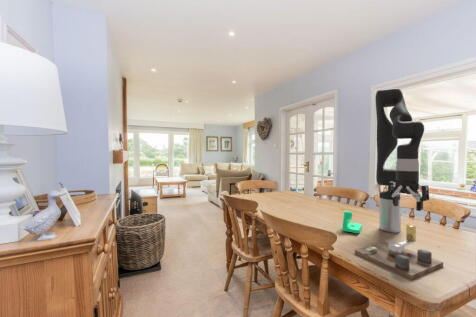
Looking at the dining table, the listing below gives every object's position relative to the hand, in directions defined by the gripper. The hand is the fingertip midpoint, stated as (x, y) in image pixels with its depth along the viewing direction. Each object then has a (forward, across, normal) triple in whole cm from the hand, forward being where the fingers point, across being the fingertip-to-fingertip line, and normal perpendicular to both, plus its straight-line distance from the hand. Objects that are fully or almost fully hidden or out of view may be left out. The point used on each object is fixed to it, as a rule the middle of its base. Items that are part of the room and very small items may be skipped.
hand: (406, 208), depth 90 cm
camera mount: (+19, +28, -3) cm, 34 cm away
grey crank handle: (+17, -1, +5) cm, 18 cm away
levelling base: (+19, -2, +10) cm, 21 cm away
